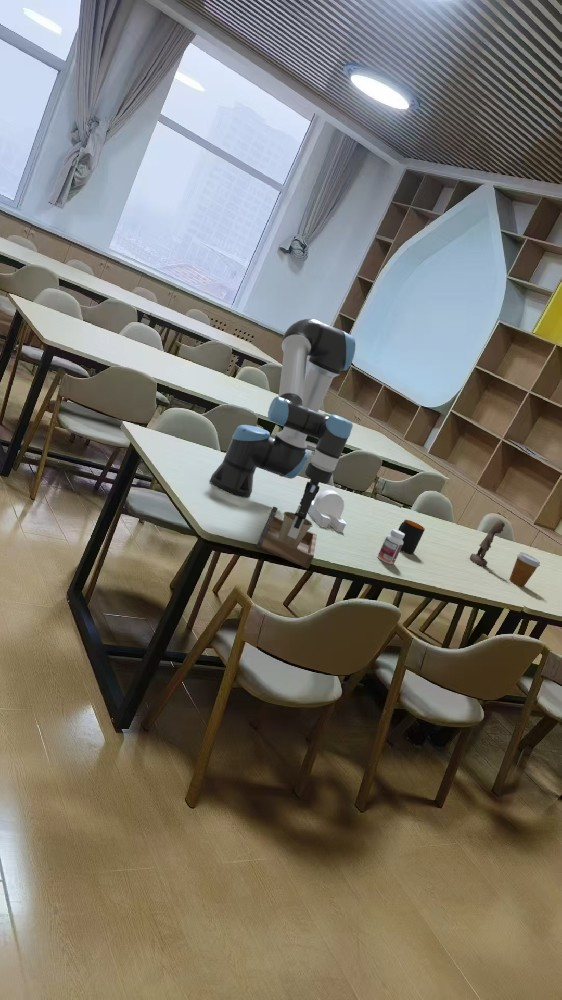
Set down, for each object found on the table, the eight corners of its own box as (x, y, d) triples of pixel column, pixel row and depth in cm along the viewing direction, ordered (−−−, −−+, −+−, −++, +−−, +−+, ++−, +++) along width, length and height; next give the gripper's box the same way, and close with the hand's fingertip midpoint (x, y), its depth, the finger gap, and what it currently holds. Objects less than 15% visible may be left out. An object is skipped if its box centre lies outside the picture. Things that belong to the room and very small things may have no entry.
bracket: (343, 533, 272) (356, 505, 269) (318, 526, 268) (331, 497, 265) (326, 514, 289) (338, 488, 286) (302, 507, 285) (314, 480, 282)
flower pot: (302, 546, 232) (313, 521, 230) (301, 554, 223) (312, 528, 221) (274, 534, 232) (285, 508, 230) (271, 542, 223) (282, 516, 221)
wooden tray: (264, 525, 240) (273, 506, 238) (312, 545, 240) (320, 526, 238) (255, 546, 215) (265, 525, 214) (308, 569, 215) (317, 547, 214)
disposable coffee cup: (502, 575, 312) (515, 549, 310) (522, 582, 314) (535, 557, 311) (510, 583, 303) (524, 557, 300) (531, 591, 305) (545, 565, 302)
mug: (402, 543, 294) (413, 519, 292) (417, 556, 284) (429, 531, 281) (384, 537, 291) (396, 513, 288) (399, 551, 280) (411, 526, 278)
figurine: (489, 569, 313) (511, 526, 309) (473, 563, 311) (495, 520, 307) (480, 560, 322) (501, 518, 317) (465, 555, 320) (486, 513, 315)
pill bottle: (387, 558, 263) (400, 530, 261) (397, 566, 258) (410, 537, 255) (373, 554, 260) (387, 526, 257) (383, 563, 255) (396, 533, 252)
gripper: (311, 455, 234) (285, 516, 238) (307, 469, 209) (278, 537, 214) (333, 464, 234) (307, 526, 238) (332, 479, 209) (302, 547, 214)
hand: (293, 531), depth 226 cm, fingers open, 13 cm apart
